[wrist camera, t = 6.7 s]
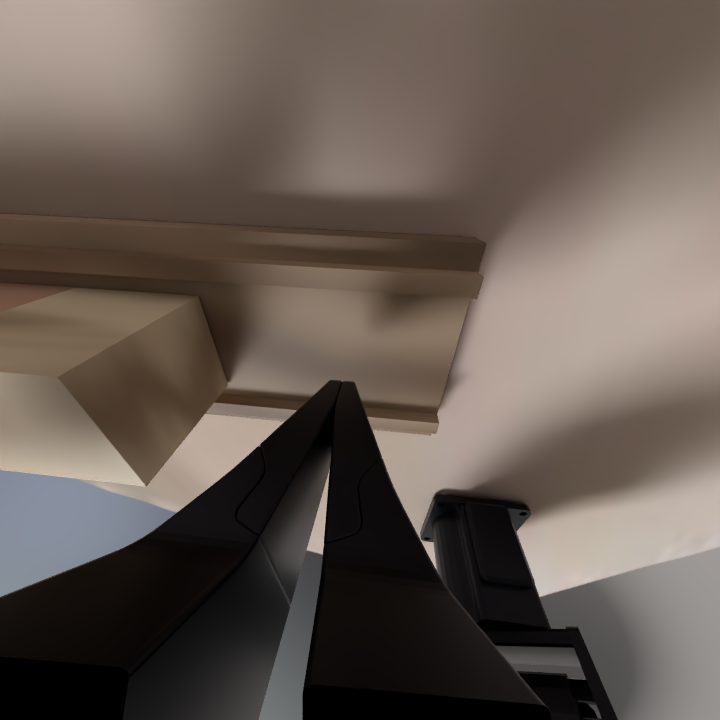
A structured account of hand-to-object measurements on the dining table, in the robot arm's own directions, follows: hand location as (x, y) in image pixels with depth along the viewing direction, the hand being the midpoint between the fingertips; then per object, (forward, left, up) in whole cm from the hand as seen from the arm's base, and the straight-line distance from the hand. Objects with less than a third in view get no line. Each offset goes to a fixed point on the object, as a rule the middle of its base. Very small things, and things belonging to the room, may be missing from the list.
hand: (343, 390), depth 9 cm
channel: (0, +7, -4) cm, 8 cm away
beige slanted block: (0, +8, -2) cm, 9 cm away
